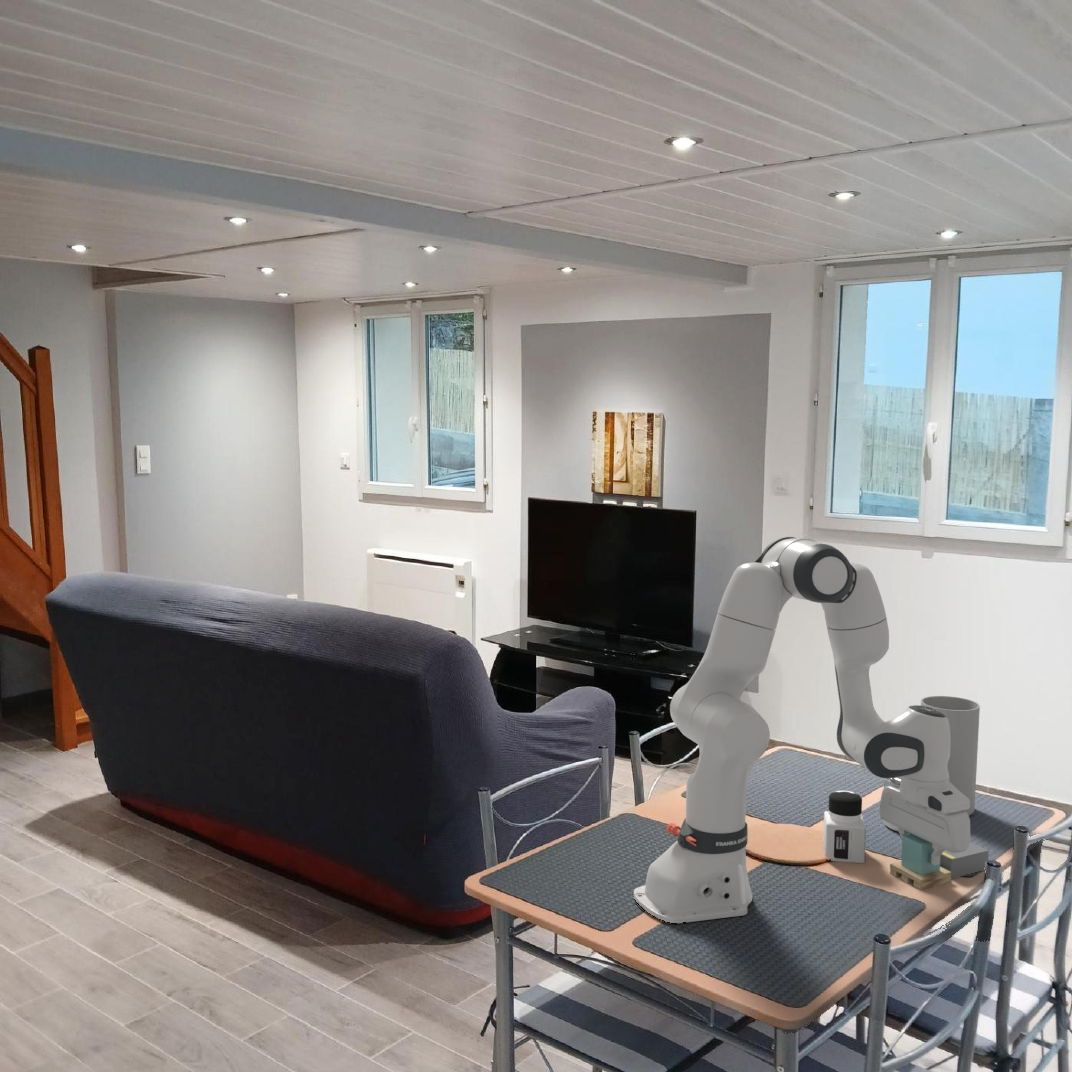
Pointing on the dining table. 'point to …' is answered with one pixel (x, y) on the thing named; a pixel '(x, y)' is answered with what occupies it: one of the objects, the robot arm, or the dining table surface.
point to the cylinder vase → (960, 741)
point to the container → (844, 828)
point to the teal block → (917, 855)
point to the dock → (964, 860)
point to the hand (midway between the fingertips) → (921, 857)
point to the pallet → (920, 876)
